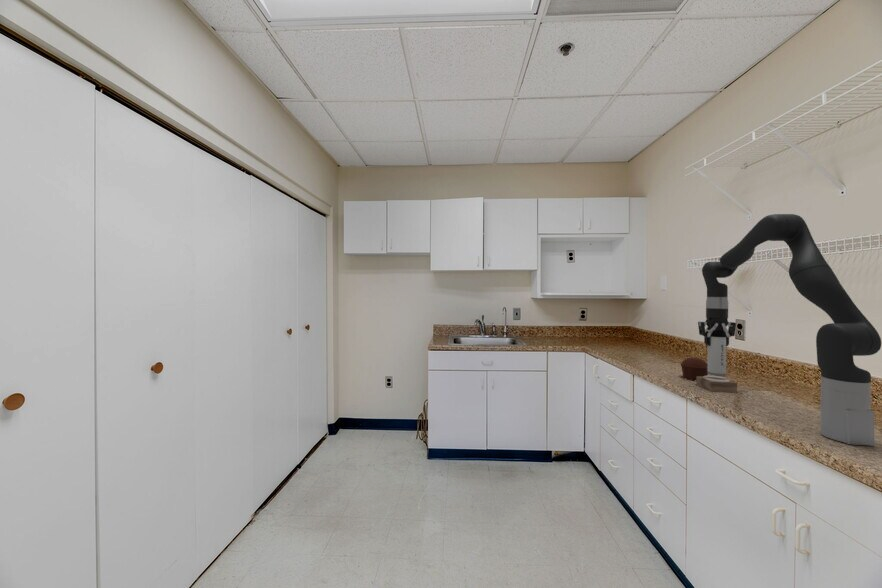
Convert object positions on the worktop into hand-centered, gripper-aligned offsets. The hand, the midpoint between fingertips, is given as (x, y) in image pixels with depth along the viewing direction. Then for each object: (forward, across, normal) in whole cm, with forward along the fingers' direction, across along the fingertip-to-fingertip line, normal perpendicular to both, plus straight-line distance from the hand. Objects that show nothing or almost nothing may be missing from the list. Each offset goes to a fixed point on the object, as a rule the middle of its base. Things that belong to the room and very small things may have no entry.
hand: (716, 345), depth 147 cm
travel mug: (+13, 0, 0) cm, 13 cm away
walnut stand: (+19, 0, 0) cm, 19 cm away
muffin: (+19, +1, +17) cm, 26 cm away
